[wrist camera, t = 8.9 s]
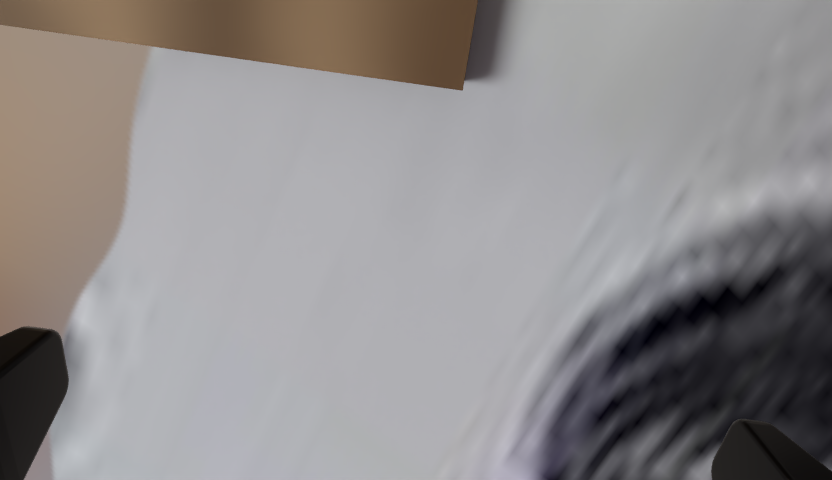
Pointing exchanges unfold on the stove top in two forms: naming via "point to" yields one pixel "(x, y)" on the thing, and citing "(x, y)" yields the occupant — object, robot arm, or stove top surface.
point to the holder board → (280, 31)
